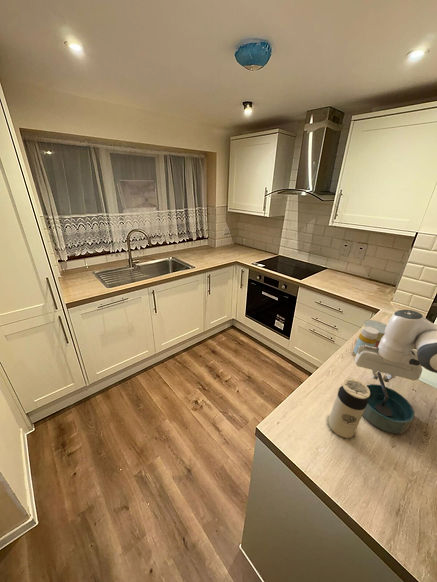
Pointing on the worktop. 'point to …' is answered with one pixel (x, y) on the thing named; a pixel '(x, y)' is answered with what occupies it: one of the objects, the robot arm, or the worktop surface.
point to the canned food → (379, 327)
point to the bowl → (395, 402)
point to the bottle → (366, 338)
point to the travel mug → (348, 407)
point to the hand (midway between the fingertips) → (379, 379)
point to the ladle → (382, 407)
